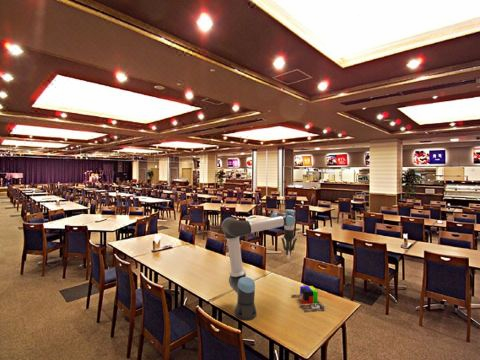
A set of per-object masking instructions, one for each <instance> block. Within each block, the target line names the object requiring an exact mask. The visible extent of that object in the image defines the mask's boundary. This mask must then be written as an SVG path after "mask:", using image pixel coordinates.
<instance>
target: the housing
mask: <svg viewBox="0 0 480 360" xmlns="http://www.w3.org/2000/svg"><path fill="white" fill-rule="evenodd" d="M290 296H291V298H300V293H299V294H297V293H296V294H291V295H290ZM314 305H319V306H320V309H313V310H311V309H310V307H311V306H314ZM299 308H300V310H301V311H302V312H303V313H320V312H327V310H326V309H325V305H324V304H323V303H322V302H321V301H320V300H319V299H317V303H315V304H304V303H300V304H299Z"/></svg>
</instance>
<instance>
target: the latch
mask: <svg viewBox="0 0 480 360" xmlns="http://www.w3.org/2000/svg"><path fill="white" fill-rule="evenodd" d="M310 309H311V310H313V309H320V306H319V305H314V306H311V307H310Z"/></svg>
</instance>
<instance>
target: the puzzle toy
mask: <svg viewBox="0 0 480 360" xmlns="http://www.w3.org/2000/svg"><path fill="white" fill-rule="evenodd" d="M299 294H300V297H299V299H300V300H301V302H302V304H315V303H317V299H318V297H319V295H318V289H317V290H316V288H315V287H314V286H313V285H307V286H306V285H304V286H303V285H302V286H299ZM318 300H319V299H318Z"/></svg>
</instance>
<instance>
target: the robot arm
mask: <svg viewBox="0 0 480 360" xmlns="http://www.w3.org/2000/svg"><path fill="white" fill-rule="evenodd" d="M295 222H296V218H295V210H293V209H285V210H284V211H283V212H272V213H271V214H270V217H268V218H263V219H258V220H257V219H256V220H253V221H249V220H238V219H236V218H234V217H227V218H225V219H224V220H223V221H222V223H221V229H222V231H223V233H224V239H225V240H227V246H228V255H229V262H230V272H229V278H228V283H229V286H230V287H231V289H232V290H234V291H235V293H236V294H237V300H236V301H237V303H236V305H235V308H234V316H235V318H236V319H238V320H242V321H251V320H253V319H255V318H257V307H256V304H255V296H256V295H255V293H256V292H255V291H256V283H255V280H254V279H252V278H250V277H247V274H246V270H245V269H243V268H244V267H243V260H242V252H241V244H240V238H241V237H245V236H250V235H251V234H252V233H257V232H262V231H265V230H270V229H276V228H280V227H284V230H283V232H284V235H283V237H280V240H281V241H282V242H281V244H282V246H283V248H282V249H283V250H284V251H285V255H286V259H287V260H291V255H292V251H294V249H295V246H296V242H297V239H298V238H297V237H295Z"/></svg>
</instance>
